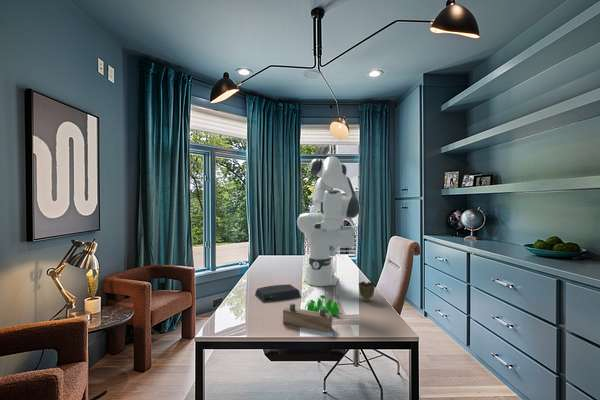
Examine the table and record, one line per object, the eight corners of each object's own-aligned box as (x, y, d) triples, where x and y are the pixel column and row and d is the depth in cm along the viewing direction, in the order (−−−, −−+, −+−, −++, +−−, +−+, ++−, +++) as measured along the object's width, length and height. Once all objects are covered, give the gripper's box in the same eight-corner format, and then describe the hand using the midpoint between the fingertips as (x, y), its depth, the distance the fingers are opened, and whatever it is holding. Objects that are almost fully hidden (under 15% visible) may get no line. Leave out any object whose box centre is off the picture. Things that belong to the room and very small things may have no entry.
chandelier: (334, 305, 138) (335, 290, 138) (345, 318, 123) (346, 301, 123) (301, 307, 135) (301, 291, 135) (308, 320, 121) (308, 303, 121)
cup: (375, 298, 147) (375, 281, 147) (374, 303, 140) (374, 286, 140) (359, 297, 149) (359, 280, 149) (357, 302, 142) (357, 284, 142)
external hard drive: (254, 295, 152) (254, 287, 152) (290, 290, 160) (290, 282, 160) (262, 303, 140) (262, 294, 140) (301, 298, 148) (301, 289, 148)
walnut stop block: (287, 319, 121) (287, 301, 121) (331, 327, 114) (332, 308, 114) (282, 323, 117) (283, 304, 117) (328, 332, 110) (328, 312, 110)
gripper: (356, 225, 140) (356, 256, 140) (314, 223, 149) (314, 252, 149) (353, 227, 135) (352, 258, 135) (309, 224, 143) (308, 255, 143)
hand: (332, 255), depth 142 cm, fingers closed
